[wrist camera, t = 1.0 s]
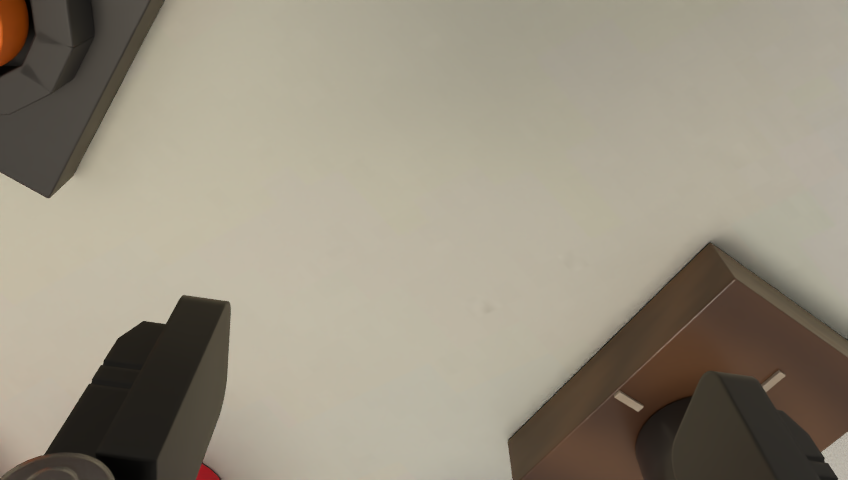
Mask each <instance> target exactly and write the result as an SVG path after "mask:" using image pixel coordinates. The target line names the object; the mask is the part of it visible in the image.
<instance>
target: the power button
mask: <svg viewBox="0 0 848 480" xmlns="http://www.w3.org/2000/svg"><path fill="white" fill-rule="evenodd" d="M28 29H29V17H28V10H27V5H26V2H25V0H0V66H2V65H4V64H6V63H8V62H9V61H11V60H12V59H13V58H14V57H16V56H17V54H18V53H19V52H20V51H21V49H22V47H23V46H24V44H25V41H26V38H27V34H28Z"/></svg>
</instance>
